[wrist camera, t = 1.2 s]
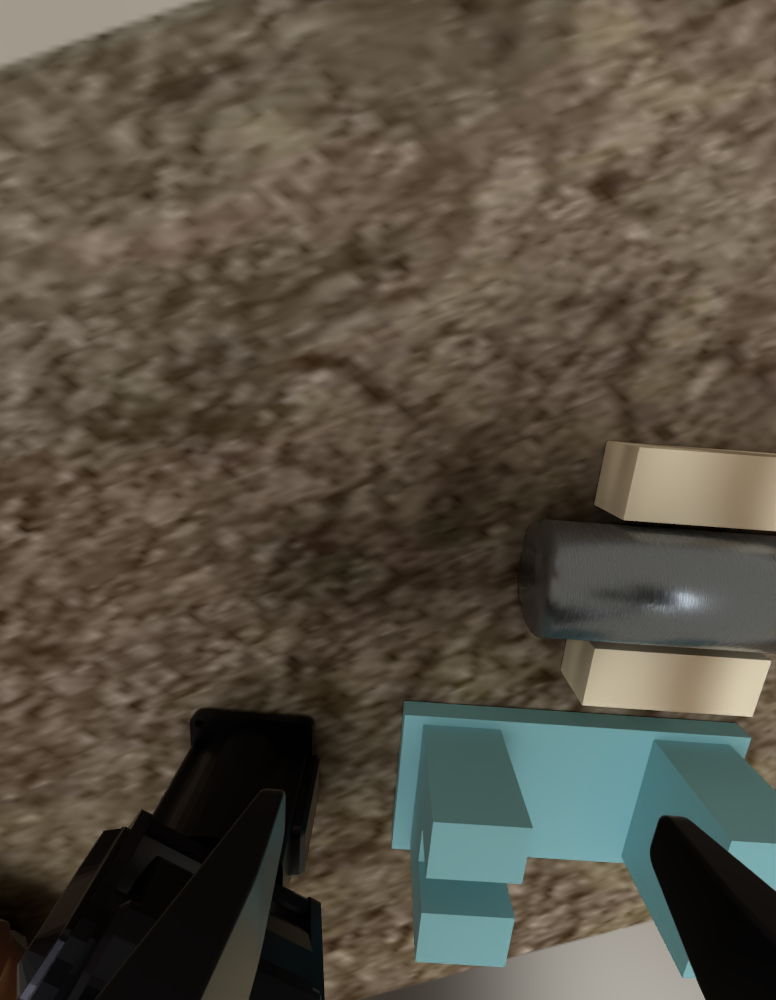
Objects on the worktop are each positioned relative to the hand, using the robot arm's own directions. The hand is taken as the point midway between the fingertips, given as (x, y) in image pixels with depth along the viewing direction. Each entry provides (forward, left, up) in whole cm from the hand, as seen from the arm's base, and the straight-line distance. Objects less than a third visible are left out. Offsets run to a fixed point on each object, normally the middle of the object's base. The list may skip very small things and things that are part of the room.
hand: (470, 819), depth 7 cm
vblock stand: (+9, -13, -13) cm, 20 cm away
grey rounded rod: (+12, 0, -13) cm, 18 cm away
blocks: (+12, 0, -13) cm, 18 cm away
